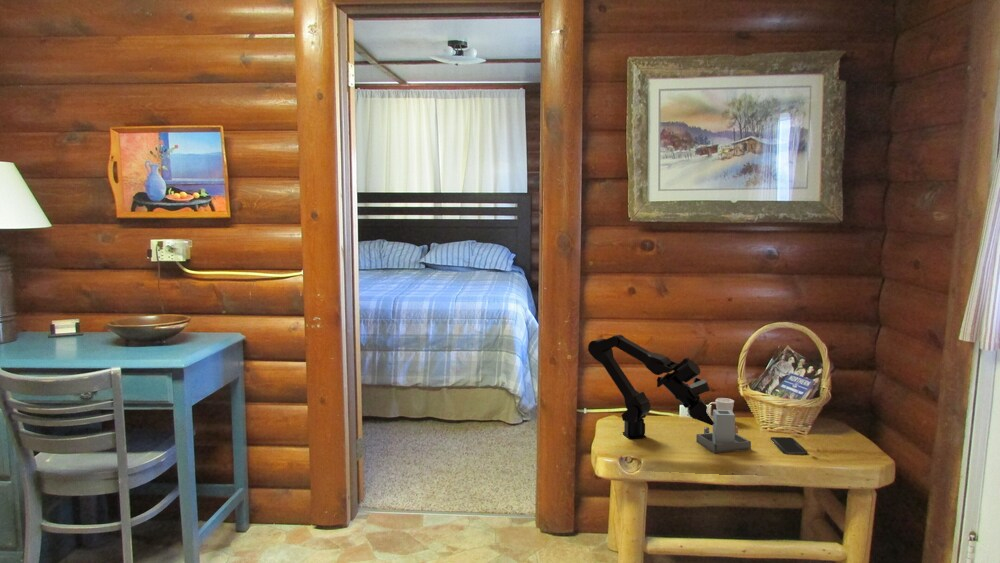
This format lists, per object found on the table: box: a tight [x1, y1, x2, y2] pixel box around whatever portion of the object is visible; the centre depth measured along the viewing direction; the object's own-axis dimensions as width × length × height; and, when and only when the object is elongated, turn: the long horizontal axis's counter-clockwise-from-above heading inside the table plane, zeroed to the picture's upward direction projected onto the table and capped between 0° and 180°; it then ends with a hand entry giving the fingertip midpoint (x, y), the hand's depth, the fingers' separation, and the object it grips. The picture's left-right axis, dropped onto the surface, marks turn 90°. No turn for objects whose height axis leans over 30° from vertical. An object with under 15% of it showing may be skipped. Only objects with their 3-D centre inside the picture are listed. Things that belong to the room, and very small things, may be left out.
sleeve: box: [712, 409, 739, 444], centre depth 223 cm, size 8×6×11 cm
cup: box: [707, 397, 735, 419], centre depth 251 cm, size 7×10×8 cm
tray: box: [695, 432, 752, 454], centre depth 223 cm, size 14×12×3 cm
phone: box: [770, 436, 808, 456], centre depth 222 cm, size 8×1×15 cm
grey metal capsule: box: [703, 426, 710, 434], centre depth 234 cm, size 2×2×3 cm
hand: (710, 420), depth 223 cm, fingers open, 9 cm apart
